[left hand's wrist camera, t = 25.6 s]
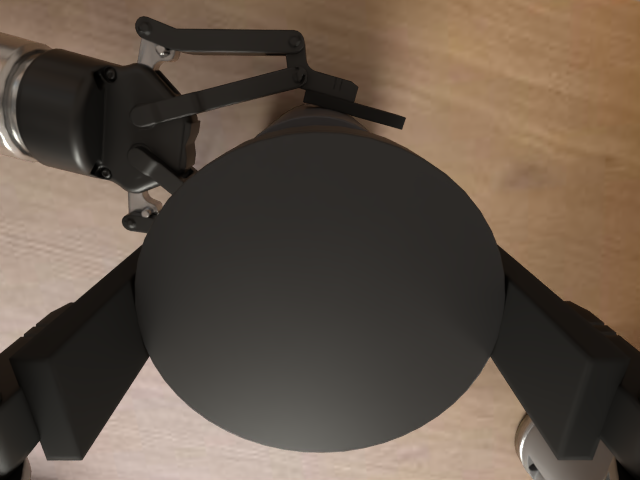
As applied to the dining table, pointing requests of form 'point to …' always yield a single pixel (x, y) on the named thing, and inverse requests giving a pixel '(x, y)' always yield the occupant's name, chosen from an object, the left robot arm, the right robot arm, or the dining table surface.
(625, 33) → the dining table surface
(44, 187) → the dining table surface
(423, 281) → the lid
